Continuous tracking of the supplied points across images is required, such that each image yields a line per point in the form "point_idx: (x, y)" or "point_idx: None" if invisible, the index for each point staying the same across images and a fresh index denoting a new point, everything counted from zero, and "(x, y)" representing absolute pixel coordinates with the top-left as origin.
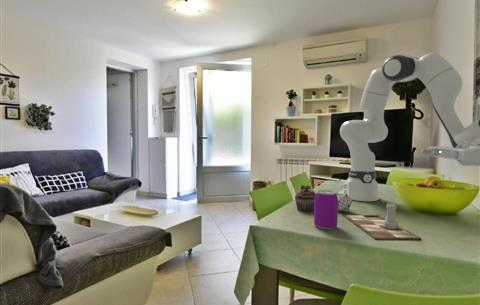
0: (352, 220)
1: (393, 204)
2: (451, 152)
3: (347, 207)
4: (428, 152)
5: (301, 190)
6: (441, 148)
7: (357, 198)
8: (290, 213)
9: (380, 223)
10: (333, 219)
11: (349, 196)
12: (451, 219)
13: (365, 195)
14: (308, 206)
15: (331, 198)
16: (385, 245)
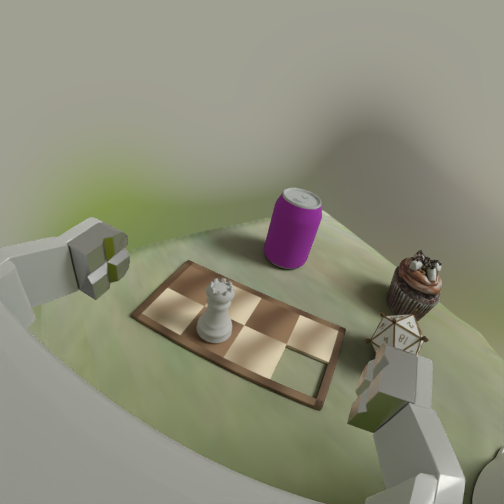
0: (296, 310)
1: (220, 293)
2: (22, 253)
3: (373, 346)
4: (393, 456)
5: (415, 254)
6: (205, 459)
7: (487, 469)
8: (375, 267)
9: (250, 341)
10: (267, 237)
11: (502, 454)
12: None
13: (491, 485)
14: (390, 286)
15: (278, 198)
16: (162, 254)
